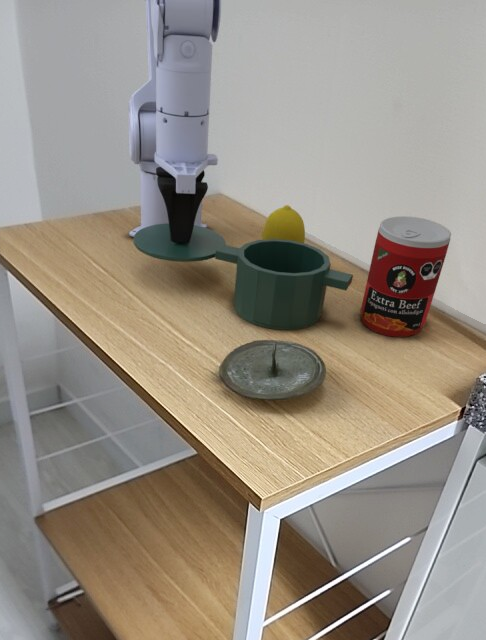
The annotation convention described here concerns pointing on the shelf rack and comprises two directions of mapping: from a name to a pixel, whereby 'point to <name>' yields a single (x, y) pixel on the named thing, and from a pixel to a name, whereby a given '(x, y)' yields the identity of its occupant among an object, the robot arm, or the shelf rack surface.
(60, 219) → the shelf rack surface
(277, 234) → the lemon
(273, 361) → the metal candle holder
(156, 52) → the robot arm
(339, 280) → the pot
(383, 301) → the canned food
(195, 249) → the pot lid
